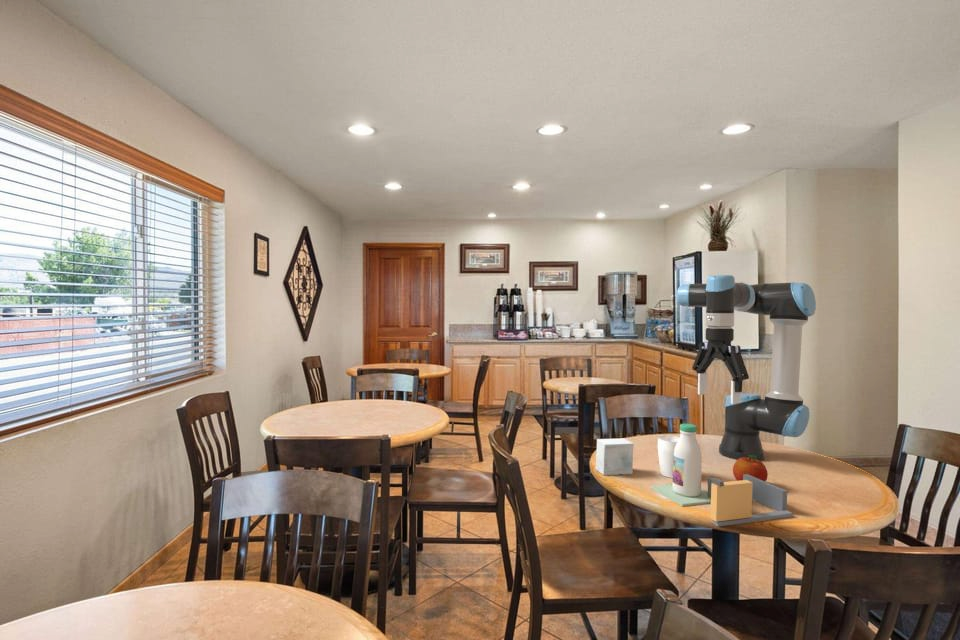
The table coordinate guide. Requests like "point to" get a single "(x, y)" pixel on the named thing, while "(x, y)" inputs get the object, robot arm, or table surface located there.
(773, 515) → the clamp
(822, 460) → the table surface
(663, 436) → the cup
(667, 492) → the mat
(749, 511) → the tan wooden slab
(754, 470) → the fruit
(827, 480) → the table surface
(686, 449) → the milk bottle
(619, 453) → the skincare box
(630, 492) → the table surface
